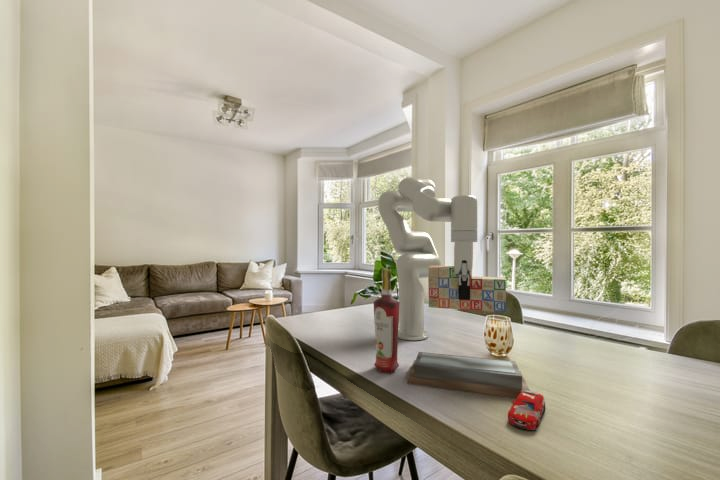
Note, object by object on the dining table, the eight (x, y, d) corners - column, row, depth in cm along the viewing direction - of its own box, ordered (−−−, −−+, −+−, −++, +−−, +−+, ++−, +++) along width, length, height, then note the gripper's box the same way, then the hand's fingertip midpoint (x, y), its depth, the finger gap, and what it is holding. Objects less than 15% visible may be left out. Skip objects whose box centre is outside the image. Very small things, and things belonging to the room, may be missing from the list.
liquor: (368, 370, 90) (368, 269, 90) (382, 362, 96) (382, 268, 96) (390, 377, 85) (390, 271, 86) (404, 368, 91) (404, 269, 91)
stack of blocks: (505, 308, 95) (504, 267, 95) (506, 313, 89) (506, 268, 89) (431, 303, 103) (431, 265, 103) (428, 307, 97) (427, 266, 97)
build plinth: (414, 365, 94) (414, 349, 94) (520, 376, 85) (520, 359, 85) (407, 383, 81) (407, 365, 81) (530, 399, 73) (530, 378, 73)
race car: (535, 437, 59) (534, 415, 59) (504, 426, 63) (503, 405, 63) (549, 408, 69) (549, 390, 69) (521, 400, 73) (521, 383, 73)
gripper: (451, 237, 105) (451, 292, 105) (450, 236, 89) (450, 302, 89) (475, 237, 103) (475, 293, 103) (479, 236, 87) (479, 303, 87)
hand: (464, 296), depth 96 cm, fingers closed on stack of blocks, 6 cm apart
